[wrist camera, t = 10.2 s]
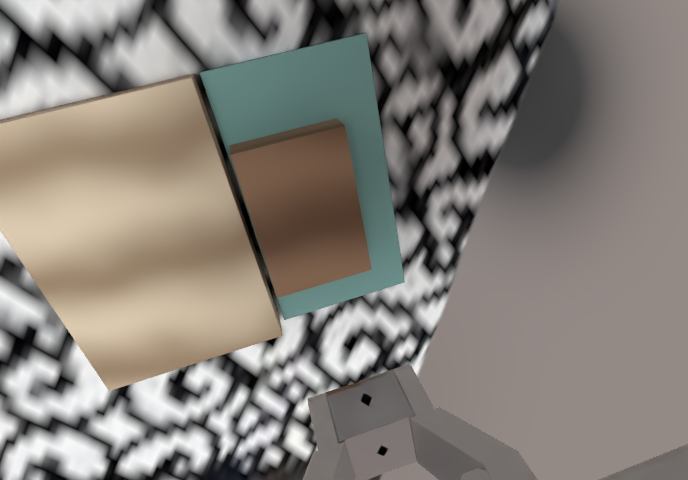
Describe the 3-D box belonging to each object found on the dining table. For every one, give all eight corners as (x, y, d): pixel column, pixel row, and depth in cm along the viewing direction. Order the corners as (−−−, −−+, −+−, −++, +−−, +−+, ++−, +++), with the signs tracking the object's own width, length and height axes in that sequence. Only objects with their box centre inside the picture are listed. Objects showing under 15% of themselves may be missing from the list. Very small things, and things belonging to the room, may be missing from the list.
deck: (-37, 128, 20) (-63, 138, 18) (194, 73, 21) (191, 78, 20) (116, 368, 28) (109, 390, 26) (279, 317, 29) (282, 335, 27)
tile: (229, 145, 23) (230, 155, 21) (336, 118, 24) (345, 125, 22) (273, 280, 27) (277, 298, 26) (362, 254, 28) (371, 269, 26)
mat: (200, 72, 21) (199, 73, 21) (363, 33, 22) (366, 33, 22) (283, 315, 29) (284, 319, 29) (402, 278, 30) (404, 281, 30)
